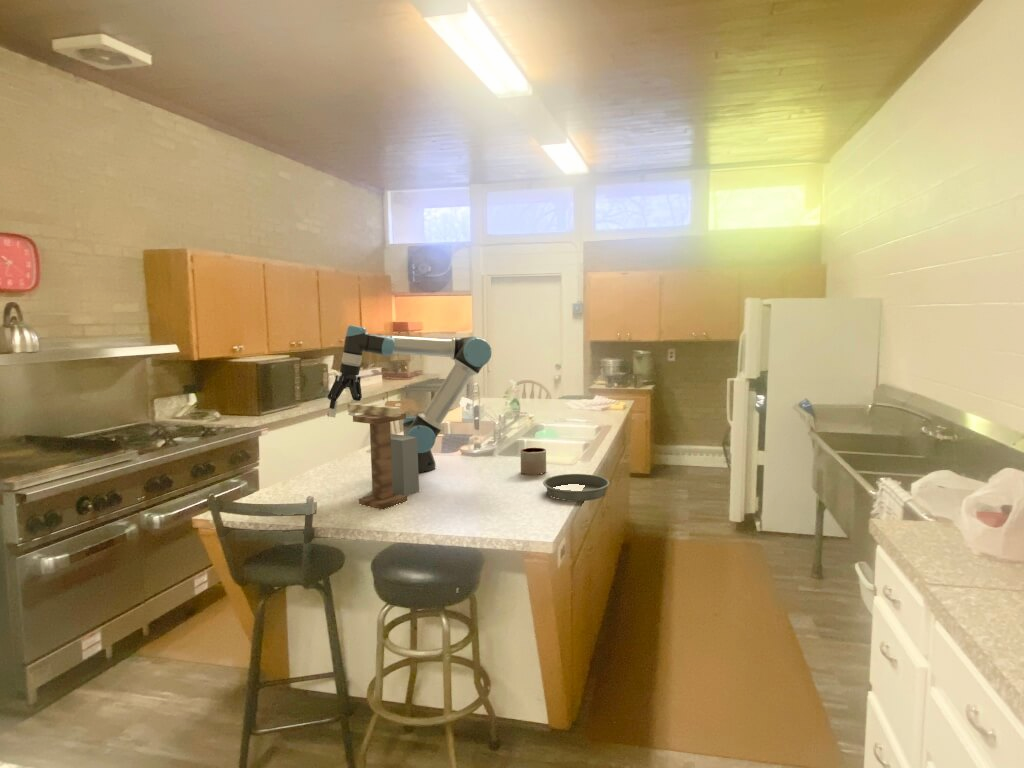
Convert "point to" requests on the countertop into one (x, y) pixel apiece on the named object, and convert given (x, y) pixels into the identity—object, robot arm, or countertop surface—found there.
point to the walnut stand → (381, 461)
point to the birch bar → (374, 409)
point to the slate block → (404, 464)
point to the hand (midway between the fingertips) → (341, 416)
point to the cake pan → (591, 491)
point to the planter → (533, 460)
